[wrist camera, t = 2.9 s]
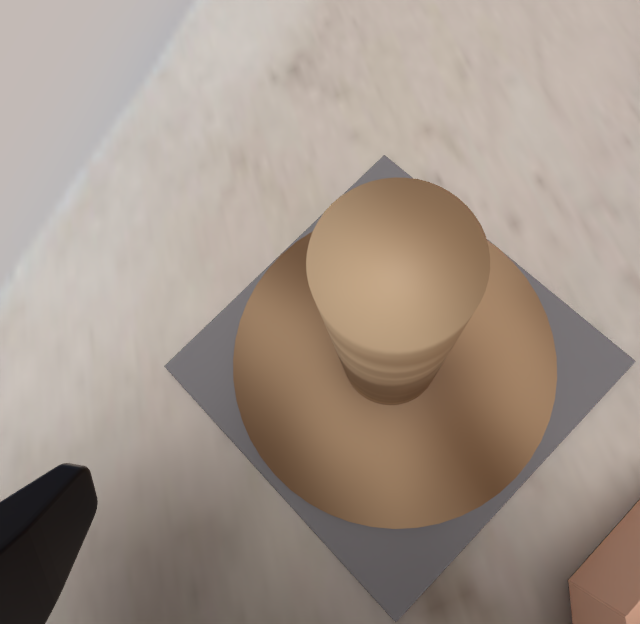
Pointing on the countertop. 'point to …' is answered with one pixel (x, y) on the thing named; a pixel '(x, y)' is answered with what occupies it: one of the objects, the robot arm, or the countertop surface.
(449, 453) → the tan post on disk
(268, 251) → the countertop surface
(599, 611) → the bowl
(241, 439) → the mat
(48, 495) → the robot arm
